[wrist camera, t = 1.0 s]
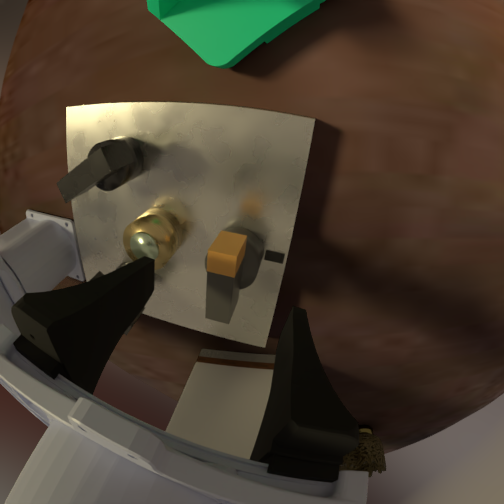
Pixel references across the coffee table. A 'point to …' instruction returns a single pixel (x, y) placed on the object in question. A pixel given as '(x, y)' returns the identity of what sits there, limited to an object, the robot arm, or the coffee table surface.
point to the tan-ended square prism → (230, 270)
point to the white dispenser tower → (224, 401)
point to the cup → (365, 453)
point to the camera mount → (229, 24)
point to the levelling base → (186, 198)
